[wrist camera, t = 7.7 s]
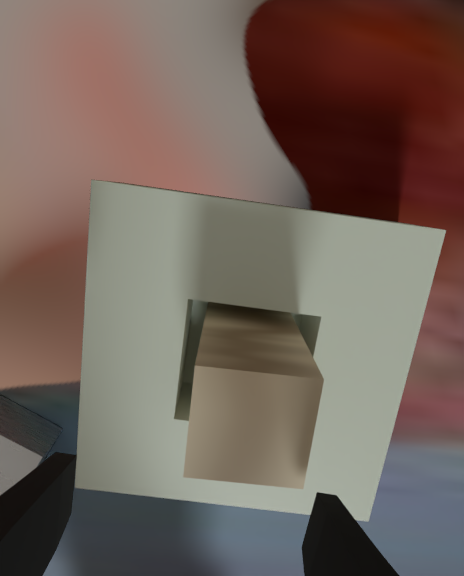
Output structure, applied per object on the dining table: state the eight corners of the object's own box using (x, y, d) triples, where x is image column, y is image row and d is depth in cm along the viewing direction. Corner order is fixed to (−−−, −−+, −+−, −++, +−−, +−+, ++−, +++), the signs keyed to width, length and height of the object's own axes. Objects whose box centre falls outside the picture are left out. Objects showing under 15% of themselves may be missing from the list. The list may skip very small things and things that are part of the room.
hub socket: (398, 222, 20) (446, 230, 15) (342, 459, 23) (368, 521, 19) (123, 182, 19) (91, 179, 15) (105, 430, 23) (74, 487, 18)
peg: (287, 306, 20) (324, 379, 12) (275, 378, 21) (303, 489, 13) (209, 297, 20) (194, 365, 12) (200, 370, 21) (183, 477, 13)
